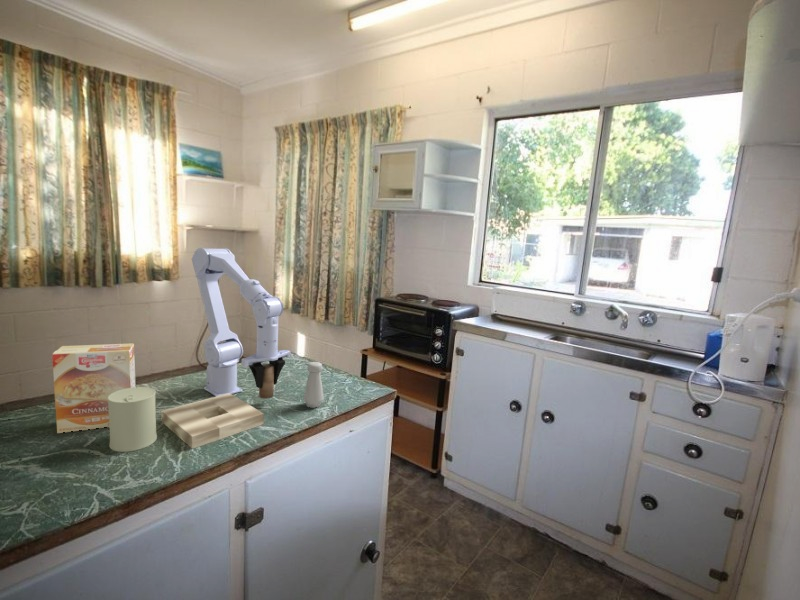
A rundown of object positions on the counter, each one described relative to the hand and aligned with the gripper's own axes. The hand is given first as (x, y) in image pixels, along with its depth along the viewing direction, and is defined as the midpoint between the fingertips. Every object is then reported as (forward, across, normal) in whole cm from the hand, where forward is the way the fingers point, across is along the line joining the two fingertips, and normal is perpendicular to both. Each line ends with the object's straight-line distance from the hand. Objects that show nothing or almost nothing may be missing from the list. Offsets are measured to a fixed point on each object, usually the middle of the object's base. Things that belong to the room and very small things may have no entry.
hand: (266, 385), depth 116 cm
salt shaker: (+6, +10, -9) cm, 15 cm away
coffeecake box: (+6, -36, +17) cm, 40 cm away
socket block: (+6, -16, -1) cm, 17 cm away
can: (+6, -33, +2) cm, 34 cm away
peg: (+3, 0, 0) cm, 3 cm away
